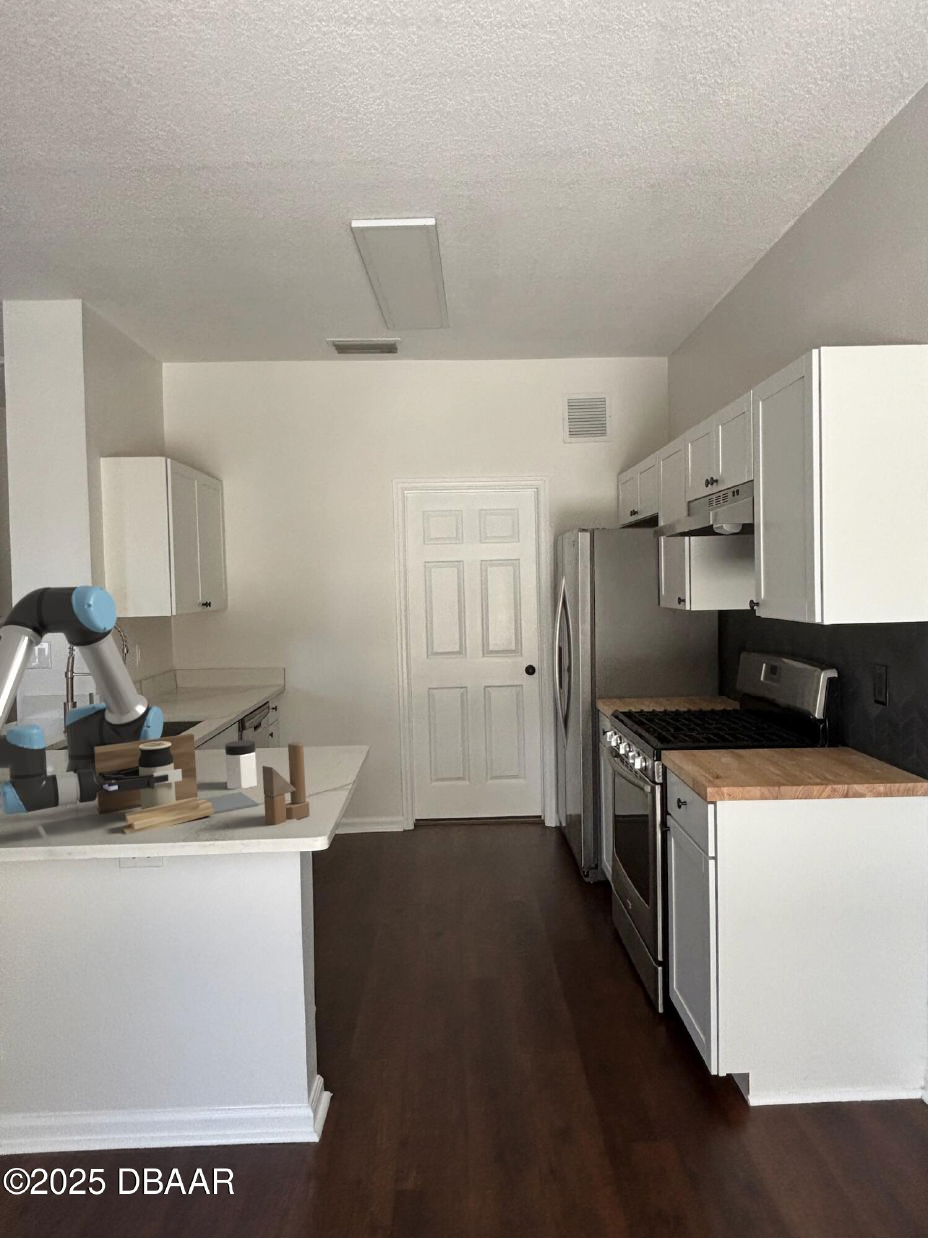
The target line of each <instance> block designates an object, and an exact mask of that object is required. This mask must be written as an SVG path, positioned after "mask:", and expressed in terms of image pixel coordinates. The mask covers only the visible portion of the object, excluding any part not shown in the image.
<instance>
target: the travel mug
mask: <svg viewBox="0 0 928 1238" xmlns="http://www.w3.org/2000/svg"><path fill="white" fill-rule="evenodd" d="M170 745H171V743H170V742H165V741H160V742H150V743H145V744H142V745H140V746H139V749H140V751H141V755H140V757H139V759H138V762H139V776H143V775H153V773H158V772H165V771H171V770H174V765H173V755H172V754H171V752H170ZM147 783H148V780H147ZM154 786H155V788H154V789H151V788H146V789H140V795H141V807H140V808H141V809H140V810H143V809H147V808H151V807H155V806H160V805H164V804H168V803H173V802H177V801H176V799H175V782H170V783H164V784H158V785H154Z"/></svg>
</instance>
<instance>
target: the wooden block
mask: <svg viewBox="0 0 928 1238" xmlns="http://www.w3.org/2000/svg"><path fill="white" fill-rule="evenodd" d="M287 749H288V750H287V751H288V752H287V754H288V755H287V756H288V770H289V772H288V773H289V781H288V780H287V779H286V778H285V777H283V775H281V774H280V773H279V772H278V771H277V770H276V769H275V768H274V767H272V766H266V765H262V785H263V788H262V789H263V797H264V798H263V799H264V801H263V802H264V817H265V818H264V820H265V824H267V825H272V826H277V825H280V824H283V823H286V822H287V821H289V820H290V821H291V820H297V821H298V820H301V819H304V818H306V817H309V816H310V811H311V810H310V801H309V800H308V801H307V796H306V791H307V790H306V773H305V753H304V751H305V750H304V742H302V741H293V742H289V743H288V745H287ZM289 793H290V802H288V803H286V795H287V794H289Z"/></svg>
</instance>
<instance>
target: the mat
mask: <svg viewBox="0 0 928 1238" xmlns="http://www.w3.org/2000/svg"><path fill="white" fill-rule="evenodd" d="M197 800H198V801H201V800H207V801H208V802H210V803H212V808H213V811H214V814H212V815H218V814H223V813H228V812H233V811H239V810H243V809H244V810H245V809H248V808H254V807H259V803H258V802H257V801H255V800H254V799H253V798H251V797H249V796H248V795H246V794H245V793H243V792H242V791H239V792H233V793H228V794H221V795H217V796H211V797H206V798H200V799H197ZM212 815H211V816H212Z"/></svg>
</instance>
